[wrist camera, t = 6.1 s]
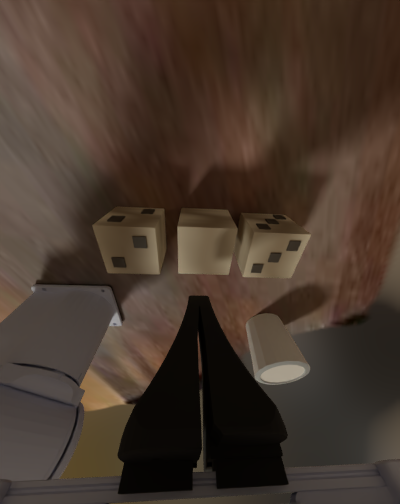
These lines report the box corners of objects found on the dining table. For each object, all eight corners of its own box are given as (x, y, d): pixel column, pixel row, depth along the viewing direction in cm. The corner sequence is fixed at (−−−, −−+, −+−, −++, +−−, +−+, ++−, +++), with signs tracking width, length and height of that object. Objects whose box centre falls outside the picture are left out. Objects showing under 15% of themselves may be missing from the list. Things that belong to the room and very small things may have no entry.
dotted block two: (125, 246, 18) (106, 273, 14) (116, 204, 16) (90, 224, 12) (166, 247, 18) (159, 275, 14) (164, 207, 16) (154, 226, 12)
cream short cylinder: (255, 306, 24) (275, 358, 18) (293, 315, 25) (323, 366, 20) (234, 332, 27) (245, 382, 22) (269, 338, 29) (288, 388, 23)
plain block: (181, 247, 18) (178, 273, 14) (181, 207, 16) (177, 226, 12) (221, 248, 18) (228, 274, 15) (227, 209, 16) (237, 228, 12)
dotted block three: (233, 250, 19) (243, 277, 15) (240, 211, 16) (255, 231, 12) (271, 251, 19) (291, 278, 15) (285, 213, 16) (312, 233, 13)
